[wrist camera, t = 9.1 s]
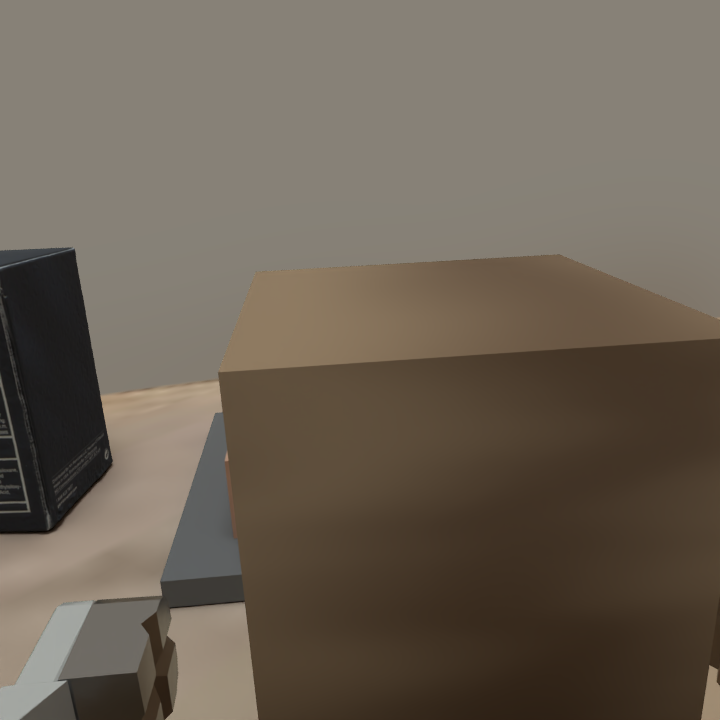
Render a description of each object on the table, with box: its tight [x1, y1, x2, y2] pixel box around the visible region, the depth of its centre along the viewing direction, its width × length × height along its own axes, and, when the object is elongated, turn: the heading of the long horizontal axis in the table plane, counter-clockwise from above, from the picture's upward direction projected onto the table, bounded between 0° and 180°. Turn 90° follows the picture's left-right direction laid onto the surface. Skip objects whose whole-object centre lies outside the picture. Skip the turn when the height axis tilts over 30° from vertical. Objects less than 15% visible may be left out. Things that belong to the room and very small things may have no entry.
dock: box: [160, 412, 245, 608], centre depth 28 cm, size 14×14×4 cm
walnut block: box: [218, 255, 720, 720], centre depth 10 cm, size 5×5×12 cm
